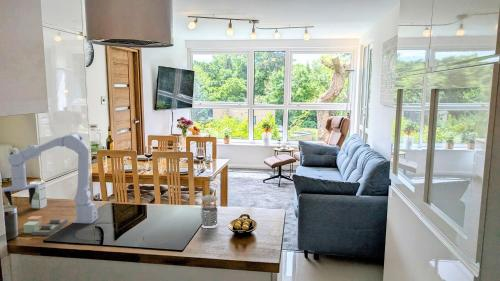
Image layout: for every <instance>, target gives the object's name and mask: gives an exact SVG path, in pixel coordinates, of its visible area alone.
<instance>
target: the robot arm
mask: <svg viewBox="0 0 500 281" xmlns="http://www.w3.org/2000/svg"><path fill="white" fill-rule="evenodd" d="M55 147H66V148H67V149H69V150H71V151H74V152H75V153H76V154H77V155H78V157H77V159H78V161H77V163H78V164H77V167H78V168H77V188H76V189H77V190H76V195H75V196H74V203H75V216H76V217H75V218H76V219H75V220H73V221H72V223H73V224H93V223H94V222H95V221H96V220H97V219H99V215H98V212H99V211H98V204H97V203H93V202H92V200H91V197H92V190H91V189H90V187H91V186H90V184H89V183H90V181H89V180H90V148H89V147H88V145H87V143H86V142H85V141H84V138H83V136H81V135H80V134H78V133H77V132H71V133H69V134H66V135H61V136H58V137H56V138H54V139H51V140H49V141H47V142H45V143H43V144H40V145H37V144H33V145H32V144H29V145H28V147H26V148H24V149H19V150H18V151H16V152H13V153H11V154H10V155H9V156H8V159H7V160H8V161H7V162H8V163H9V164H10V172H11V175H10V176H11V186H8V187H1V188H2V193H1V194H4V195H5V197H6V199H7V200H8V202H9V205H12V206H13V201H12V192H17V191H25V190H28V195H29V196H28V201H29V202H28V204H29V205H31V204H32V198H33V195H34V193H35V191H36V188H38V184H27V172H26V162H29V161H31V160H33V159H35V158H38V157H40V156H41V155H42V152H45V151H47V150H50V149H53V148H55Z"/></svg>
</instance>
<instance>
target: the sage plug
mask: <svg viewBox="0 0 500 281" xmlns="http://www.w3.org/2000/svg"><path fill="white" fill-rule="evenodd" d="M22 226H23V233H25V234H32V231H41V225H40V222H32V221H29V222H27V221H26V222H25V223H23V225H22Z"/></svg>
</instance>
